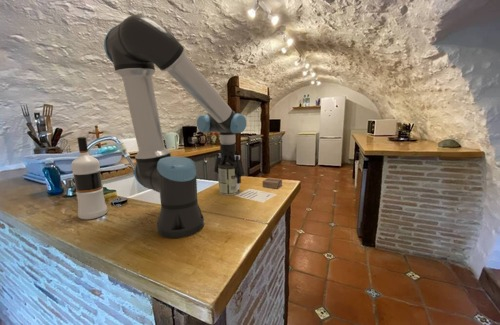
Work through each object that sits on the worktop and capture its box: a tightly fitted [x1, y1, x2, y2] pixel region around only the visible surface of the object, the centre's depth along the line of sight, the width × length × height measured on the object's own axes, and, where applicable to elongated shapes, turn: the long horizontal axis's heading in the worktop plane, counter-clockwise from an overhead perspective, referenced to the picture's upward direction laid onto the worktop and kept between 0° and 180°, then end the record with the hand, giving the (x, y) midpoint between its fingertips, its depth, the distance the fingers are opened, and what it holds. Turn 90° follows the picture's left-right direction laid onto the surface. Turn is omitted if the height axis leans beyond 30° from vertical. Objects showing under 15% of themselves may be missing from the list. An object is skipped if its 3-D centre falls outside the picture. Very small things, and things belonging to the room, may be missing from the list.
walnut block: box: [262, 177, 283, 190], centre depth 118 cm, size 8×8×4 cm
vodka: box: [70, 136, 109, 221], centre depth 81 cm, size 9×9×30 cm
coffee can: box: [218, 162, 240, 196], centre depth 108 cm, size 10×10×14 cm
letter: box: [234, 188, 278, 203], centre depth 104 cm, size 13×16×1 cm
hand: (229, 187), depth 109 cm, fingers closed on coffee can, 10 cm apart
